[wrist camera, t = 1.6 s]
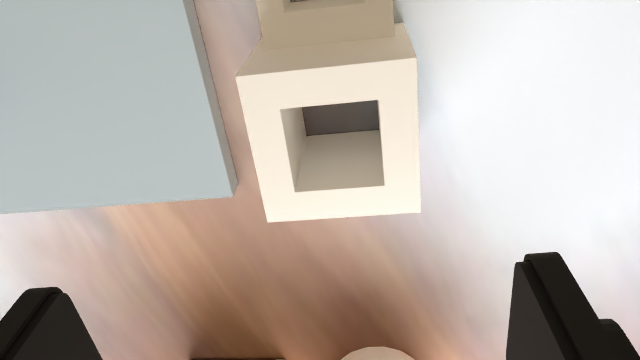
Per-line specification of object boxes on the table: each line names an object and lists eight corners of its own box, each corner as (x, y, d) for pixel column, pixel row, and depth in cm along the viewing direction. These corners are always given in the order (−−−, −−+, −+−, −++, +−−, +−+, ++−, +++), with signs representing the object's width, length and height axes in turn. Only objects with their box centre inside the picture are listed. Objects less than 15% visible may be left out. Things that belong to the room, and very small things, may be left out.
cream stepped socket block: (408, 152, 23) (421, 212, 19) (283, 162, 24) (267, 222, 19) (397, -130, 17) (411, -139, 13) (234, -106, 18) (195, -106, 14)
